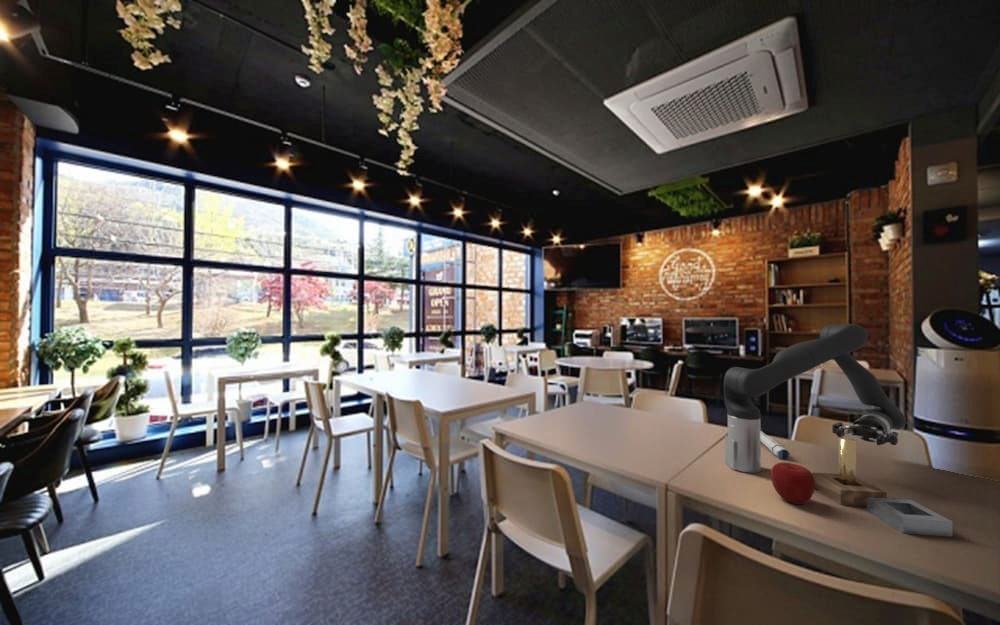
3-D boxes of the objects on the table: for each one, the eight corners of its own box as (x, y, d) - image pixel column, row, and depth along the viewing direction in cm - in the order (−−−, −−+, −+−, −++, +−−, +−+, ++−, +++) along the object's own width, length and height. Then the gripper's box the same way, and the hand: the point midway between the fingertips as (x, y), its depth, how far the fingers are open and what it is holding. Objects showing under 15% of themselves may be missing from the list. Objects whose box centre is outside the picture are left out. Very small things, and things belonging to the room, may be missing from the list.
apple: (824, 511, 97) (824, 472, 97) (783, 508, 98) (783, 470, 98) (800, 493, 106) (800, 458, 106) (763, 491, 107) (763, 456, 108)
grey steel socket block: (903, 533, 87) (902, 518, 87) (867, 510, 97) (867, 497, 97) (952, 536, 85) (952, 521, 86) (911, 513, 95) (911, 499, 95)
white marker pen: (776, 448, 131) (742, 419, 156) (774, 466, 132) (741, 434, 156) (792, 449, 130) (756, 420, 155) (791, 467, 131) (755, 435, 156)
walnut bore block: (840, 504, 100) (840, 489, 100) (812, 485, 111) (812, 472, 111) (886, 507, 98) (886, 492, 98) (853, 488, 109) (853, 474, 109)
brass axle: (845, 498, 103) (844, 441, 103) (835, 492, 107) (835, 437, 107) (859, 499, 103) (859, 441, 103) (849, 493, 106) (849, 437, 106)
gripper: (842, 411, 126) (827, 420, 117) (903, 420, 115) (892, 431, 105) (842, 433, 126) (827, 443, 117) (904, 445, 114) (892, 457, 105)
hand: (858, 437), depth 111 cm, fingers open, 8 cm apart
